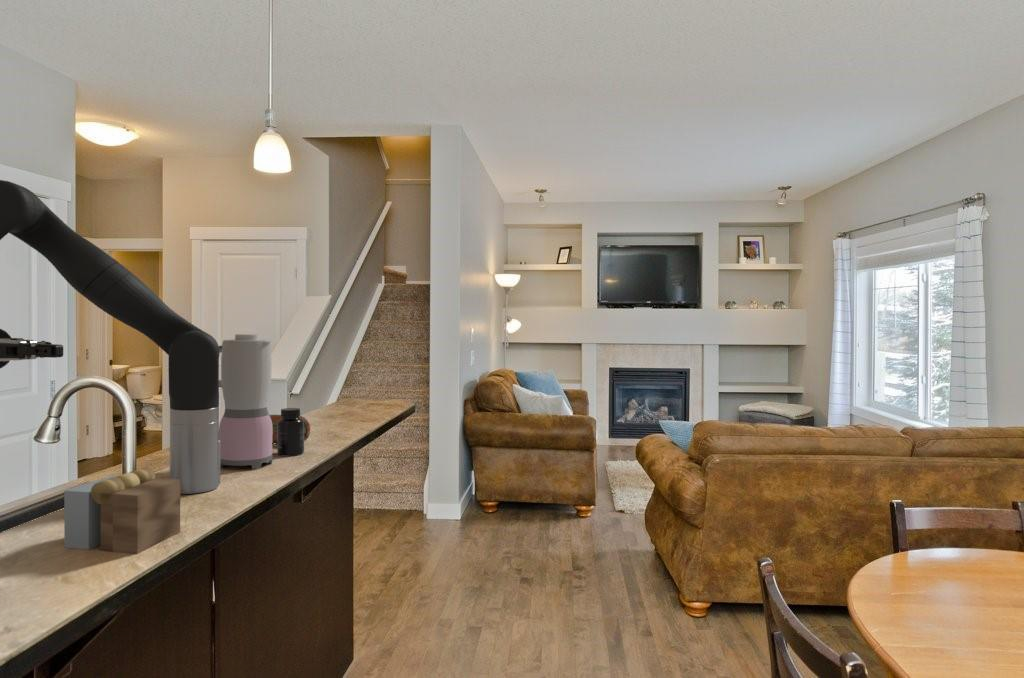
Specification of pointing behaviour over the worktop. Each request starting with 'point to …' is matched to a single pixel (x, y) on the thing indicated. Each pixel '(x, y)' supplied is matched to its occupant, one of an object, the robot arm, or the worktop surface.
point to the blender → (245, 401)
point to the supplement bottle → (290, 432)
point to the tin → (277, 417)
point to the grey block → (86, 513)
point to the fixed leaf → (137, 511)
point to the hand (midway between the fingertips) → (59, 351)
